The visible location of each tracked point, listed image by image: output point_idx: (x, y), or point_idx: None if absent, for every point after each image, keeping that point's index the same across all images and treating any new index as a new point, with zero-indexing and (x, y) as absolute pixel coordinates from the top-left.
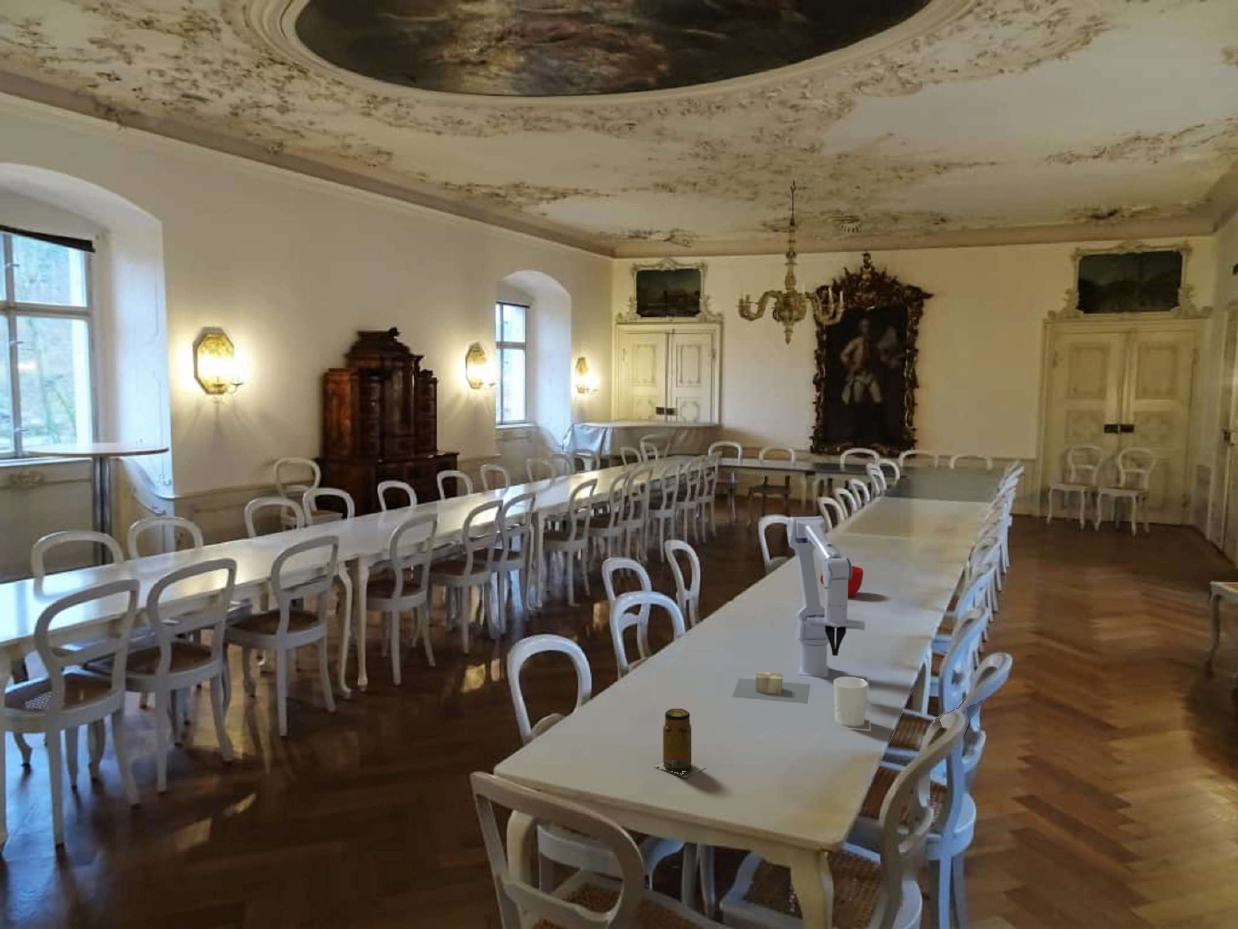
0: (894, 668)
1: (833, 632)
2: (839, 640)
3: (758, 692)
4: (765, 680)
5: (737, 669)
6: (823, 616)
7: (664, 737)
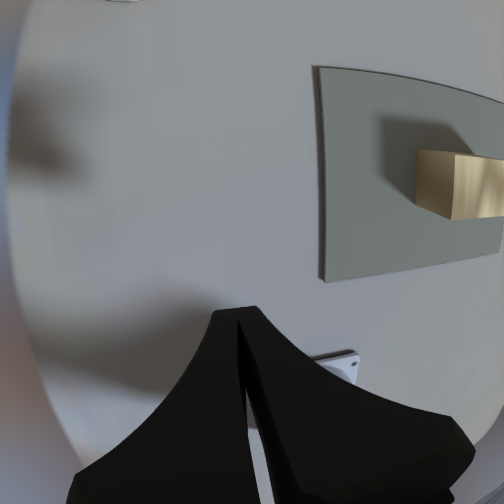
0: None
1: (332, 491)
2: (188, 406)
3: (469, 147)
4: (485, 157)
5: (485, 322)
6: None
7: None
